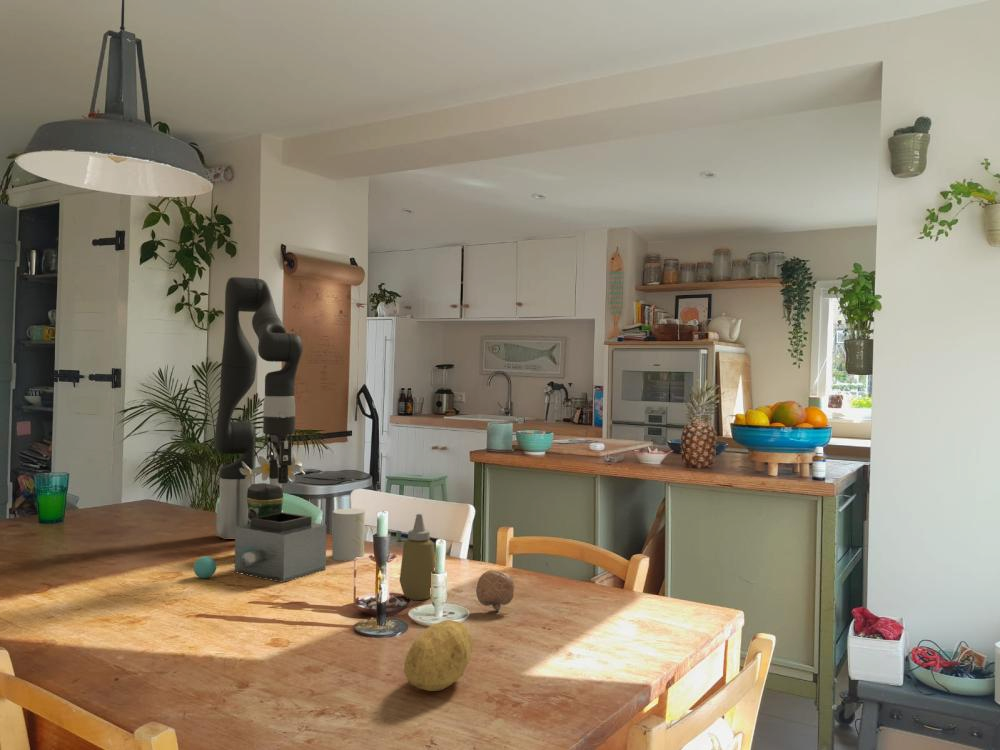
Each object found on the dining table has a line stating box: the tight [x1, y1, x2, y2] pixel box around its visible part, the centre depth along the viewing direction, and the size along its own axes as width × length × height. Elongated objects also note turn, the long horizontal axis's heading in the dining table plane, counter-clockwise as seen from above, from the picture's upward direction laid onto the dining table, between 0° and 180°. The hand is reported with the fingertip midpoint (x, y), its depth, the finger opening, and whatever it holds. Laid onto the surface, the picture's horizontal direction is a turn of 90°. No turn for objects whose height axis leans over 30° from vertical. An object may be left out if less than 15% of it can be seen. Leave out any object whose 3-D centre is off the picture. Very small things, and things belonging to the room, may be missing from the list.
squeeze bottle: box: [399, 513, 436, 601], centre depth 171 cm, size 8×8×18 cm
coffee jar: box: [247, 482, 284, 524], centre depth 207 cm, size 10×8×19 cm
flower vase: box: [239, 451, 306, 512], centre depth 223 cm, size 13×18×25 cm
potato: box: [403, 619, 473, 692], centre depth 124 cm, size 10×14×10 cm
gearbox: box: [234, 511, 327, 583], centre depth 188 cm, size 16×18×13 cm
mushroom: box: [475, 569, 515, 612], centre depth 162 cm, size 8×6×8 cm
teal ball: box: [193, 555, 217, 579], centre depth 183 cm, size 5×5×5 cm
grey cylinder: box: [331, 507, 366, 561], centre depth 205 cm, size 8×8×12 cm
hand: (278, 480), depth 192 cm, fingers open, 8 cm apart
